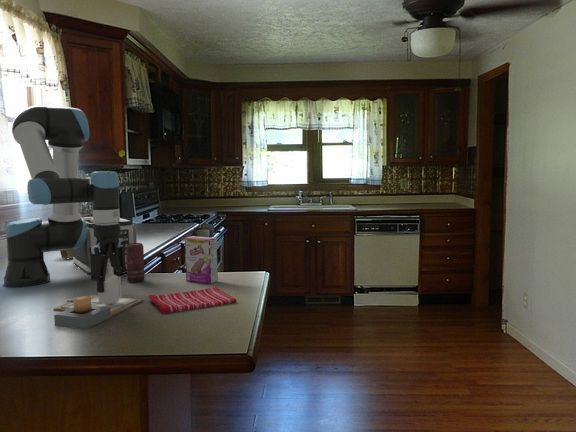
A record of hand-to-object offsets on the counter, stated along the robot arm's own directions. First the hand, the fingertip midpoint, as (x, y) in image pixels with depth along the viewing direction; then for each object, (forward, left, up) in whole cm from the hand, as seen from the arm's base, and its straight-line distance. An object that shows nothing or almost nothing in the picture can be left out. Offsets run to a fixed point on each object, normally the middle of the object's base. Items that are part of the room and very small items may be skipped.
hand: (110, 299), depth 145 cm
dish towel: (+21, +12, -3) cm, 24 cm away
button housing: (+2, -14, -2) cm, 14 cm away
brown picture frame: (-4, 0, -2) cm, 4 cm away
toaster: (-42, +49, -3) cm, 65 cm away
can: (-13, +31, -2) cm, 34 cm away
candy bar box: (+11, +37, -2) cm, 39 cm away
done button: (+2, -14, +1) cm, 14 cm away
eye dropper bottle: (0, 0, -1) cm, 1 cm away
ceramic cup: (-73, +63, -2) cm, 96 cm away
